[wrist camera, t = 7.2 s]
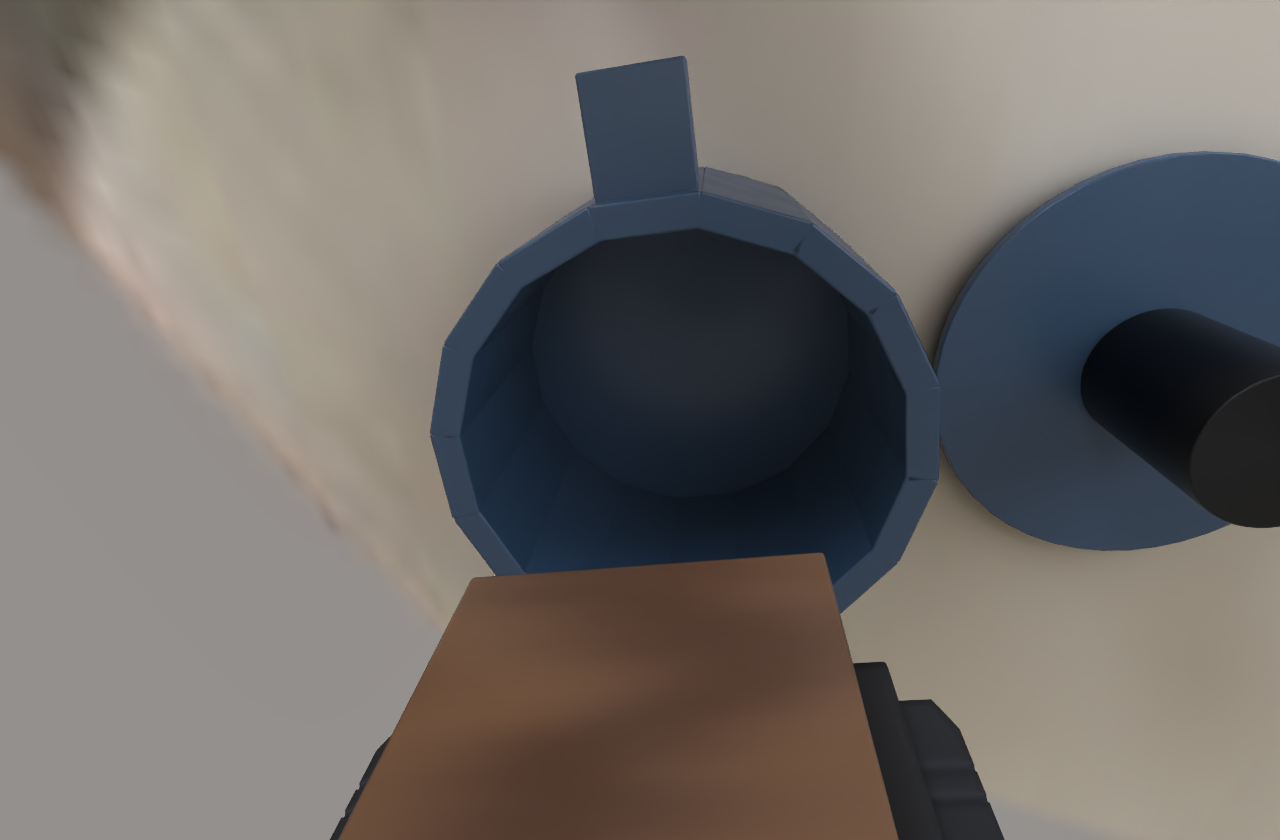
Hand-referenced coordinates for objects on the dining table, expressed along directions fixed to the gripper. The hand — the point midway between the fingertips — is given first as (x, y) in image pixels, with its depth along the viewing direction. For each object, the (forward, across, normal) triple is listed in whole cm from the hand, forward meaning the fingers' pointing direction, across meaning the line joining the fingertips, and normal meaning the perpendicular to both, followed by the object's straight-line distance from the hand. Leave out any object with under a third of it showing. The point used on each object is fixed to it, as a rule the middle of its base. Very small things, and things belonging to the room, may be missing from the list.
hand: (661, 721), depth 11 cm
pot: (+17, 0, 0) cm, 17 cm away
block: (0, 0, 0) cm, 0 cm away
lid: (+16, -15, +2) cm, 22 cm away
